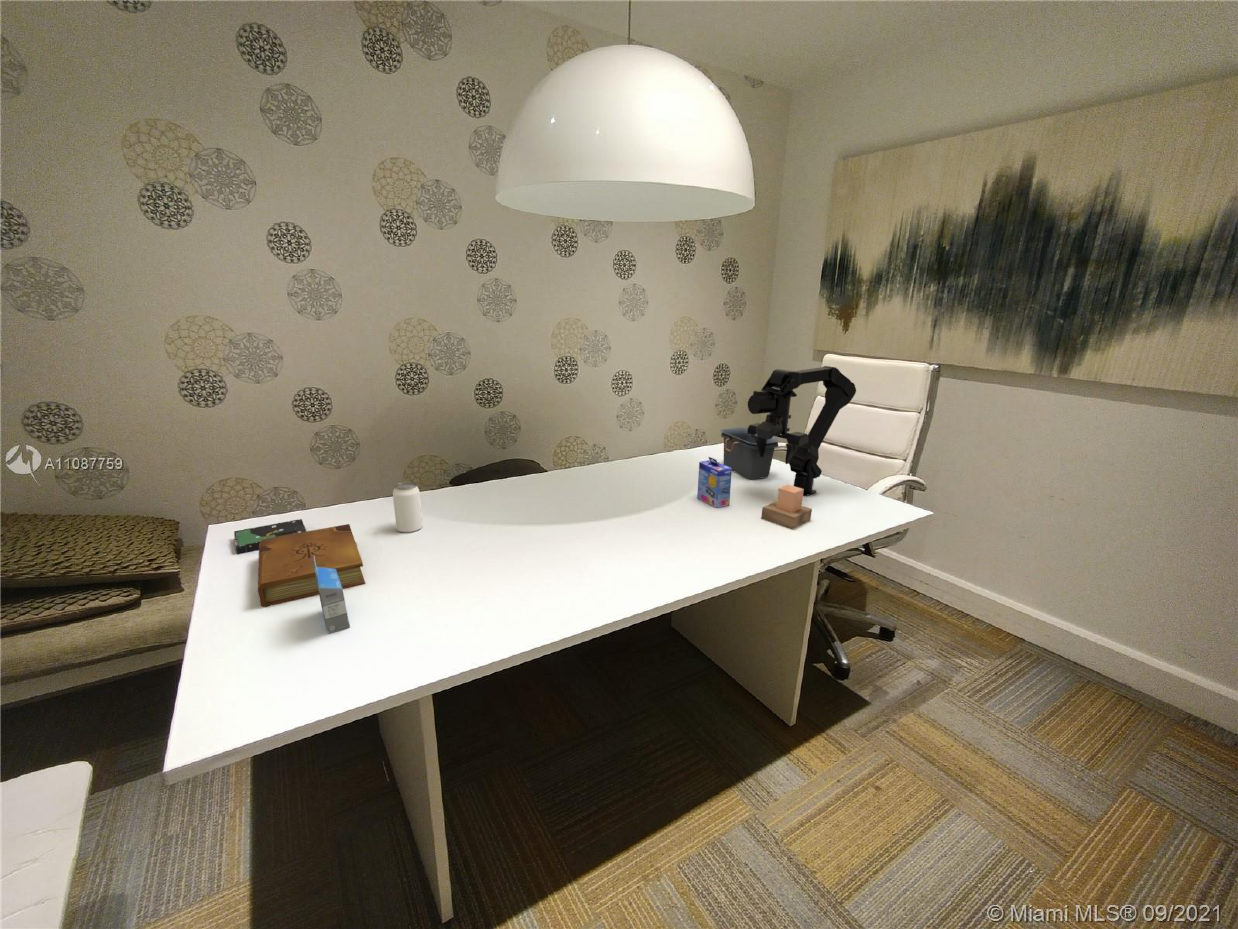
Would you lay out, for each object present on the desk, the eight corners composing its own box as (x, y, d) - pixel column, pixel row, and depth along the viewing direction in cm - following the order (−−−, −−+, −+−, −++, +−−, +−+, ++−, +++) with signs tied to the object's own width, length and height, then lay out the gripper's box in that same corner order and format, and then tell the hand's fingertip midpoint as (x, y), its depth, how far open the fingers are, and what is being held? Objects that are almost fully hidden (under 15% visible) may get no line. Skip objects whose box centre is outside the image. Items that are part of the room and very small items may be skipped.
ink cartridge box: (695, 498, 169) (698, 454, 165) (709, 495, 172) (712, 452, 168) (715, 508, 161) (719, 462, 157) (729, 505, 164) (734, 460, 160)
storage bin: (779, 479, 190) (784, 440, 186) (744, 484, 184) (748, 444, 179) (742, 462, 208) (745, 426, 204) (709, 466, 202) (712, 429, 198)
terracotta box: (785, 503, 157) (787, 484, 155) (801, 508, 153) (803, 489, 151) (776, 507, 153) (778, 488, 152) (792, 513, 150) (794, 493, 148)
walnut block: (779, 511, 161) (780, 499, 160) (810, 521, 155) (812, 508, 153) (761, 520, 155) (762, 507, 154) (792, 531, 148) (794, 517, 147)
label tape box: (350, 628, 99) (342, 569, 96) (325, 635, 97) (316, 574, 93) (343, 605, 106) (335, 549, 103) (320, 611, 104) (311, 554, 100)
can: (427, 528, 142) (423, 485, 139) (403, 535, 138) (399, 491, 134) (415, 521, 146) (411, 479, 143) (392, 528, 142) (387, 485, 138)
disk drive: (303, 528, 142) (235, 540, 133) (301, 518, 141) (233, 530, 132) (309, 542, 134) (237, 557, 125) (307, 532, 133) (235, 546, 124)
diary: (262, 562, 123) (258, 539, 122) (352, 545, 133) (349, 523, 131) (261, 610, 105) (256, 583, 103) (365, 585, 114) (362, 561, 113)
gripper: (738, 409, 165) (734, 457, 170) (791, 420, 152) (785, 472, 156) (759, 405, 172) (755, 452, 177) (812, 415, 159) (806, 465, 163)
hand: (774, 460), depth 168 cm, fingers open, 9 cm apart
